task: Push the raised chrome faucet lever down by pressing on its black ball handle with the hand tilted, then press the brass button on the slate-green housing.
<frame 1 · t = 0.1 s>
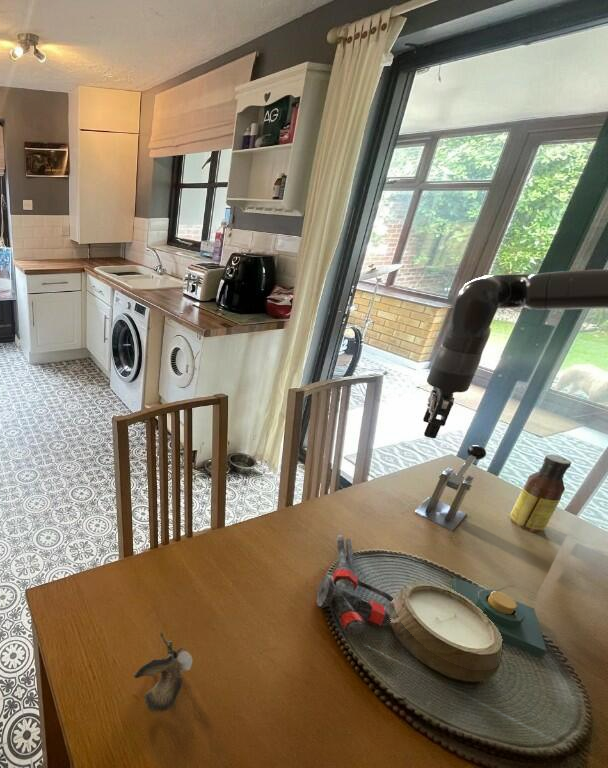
hand: (428, 429, 99), 23 cm above the table, tool pointing down, fingers open, 8 cm apart
sauce bottle: (522, 526, 101), on the table
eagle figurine: (161, 681, 68), on the table
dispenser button: (501, 602, 77), point 4 cm above the table, slide at 0.1 cm
grey metal stand: (438, 516, 104), on the table
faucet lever: (466, 466, 101), point 13 cm above the table, hinge at 25.0°
dispenser: (491, 618, 79), on the table
valve: (356, 590, 84), on the table
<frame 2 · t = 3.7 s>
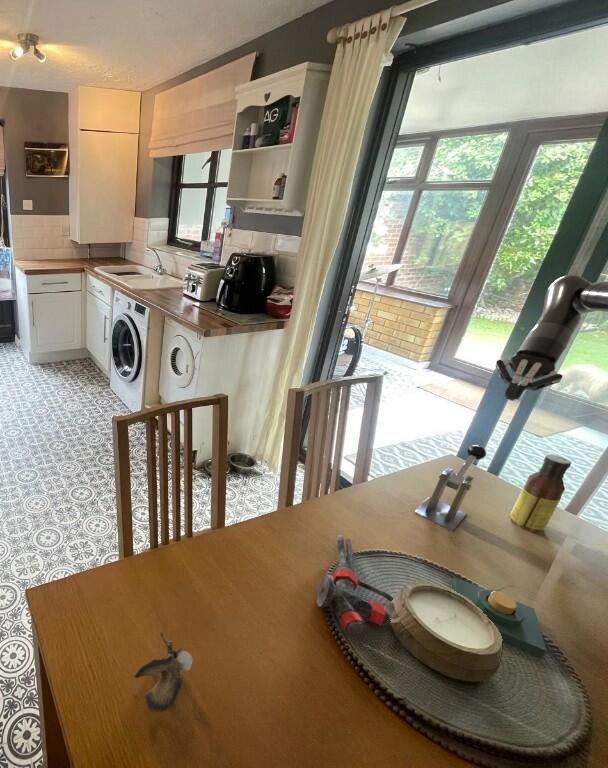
hand: (510, 398, 104), 27 cm above the table, tool tilted 45°, fingers closed
nothing on the table moved.
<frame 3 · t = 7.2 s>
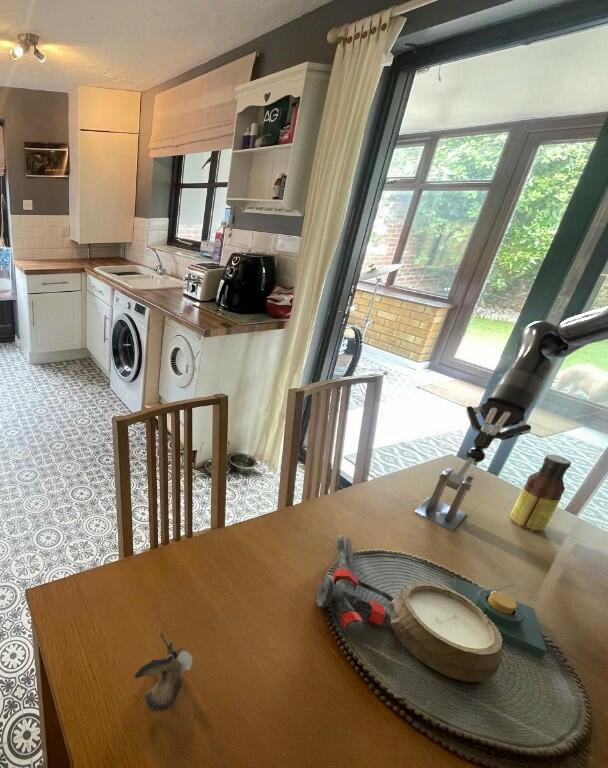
hand: (478, 447, 102), 17 cm above the table, tool tilted 45°, fingers closed
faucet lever: (465, 467, 101), point 13 cm above the table, hinge at 19.5°, touching gripper
everything else where it was.
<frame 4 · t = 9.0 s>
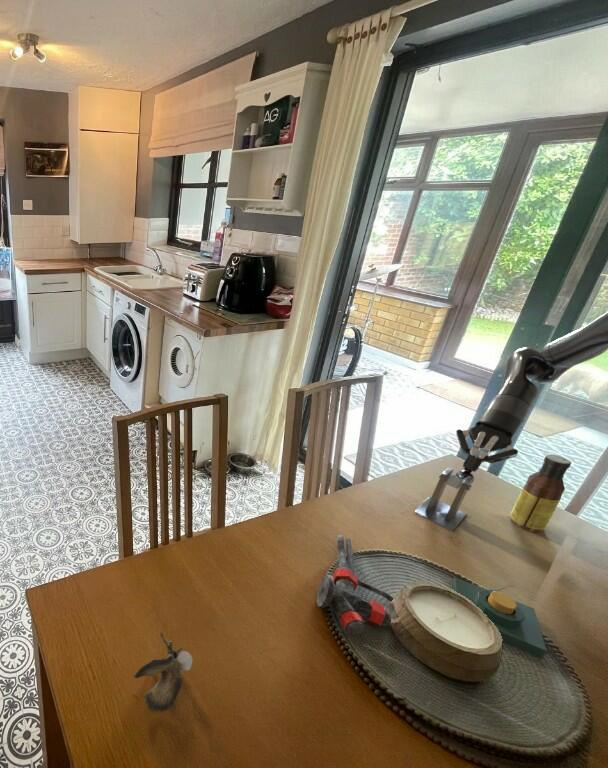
hand: (468, 470, 105), 10 cm above the table, tool tilted 45°, fingers closed
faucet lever: (460, 479, 103), point 9 cm above the table, hinge at -17.9°, touching gripper
everything else where it was.
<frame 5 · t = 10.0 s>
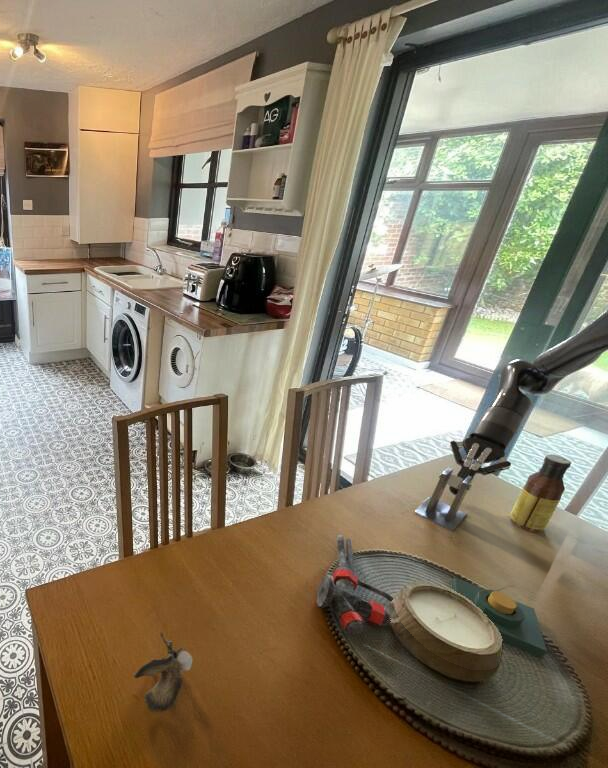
hand: (461, 481, 106), 7 cm above the table, tool tilted 45°, fingers closed
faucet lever: (456, 485, 103), point 8 cm above the table, hinge at -35.3°, touching gripper
everything else where it was.
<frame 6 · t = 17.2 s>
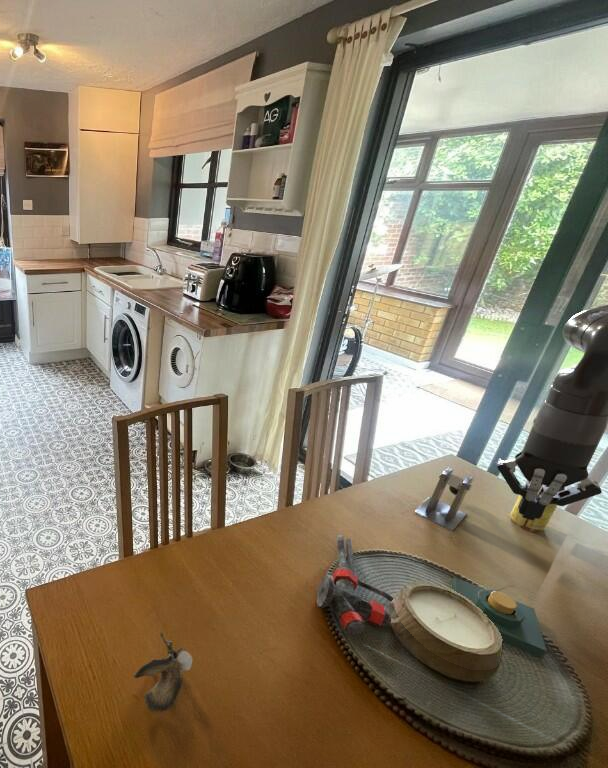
hand: (527, 516, 73), 22 cm above the table, tool pointing down, fingers closed
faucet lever: (456, 485, 103), point 8 cm above the table, hinge at -35.3°
everything else where it was.
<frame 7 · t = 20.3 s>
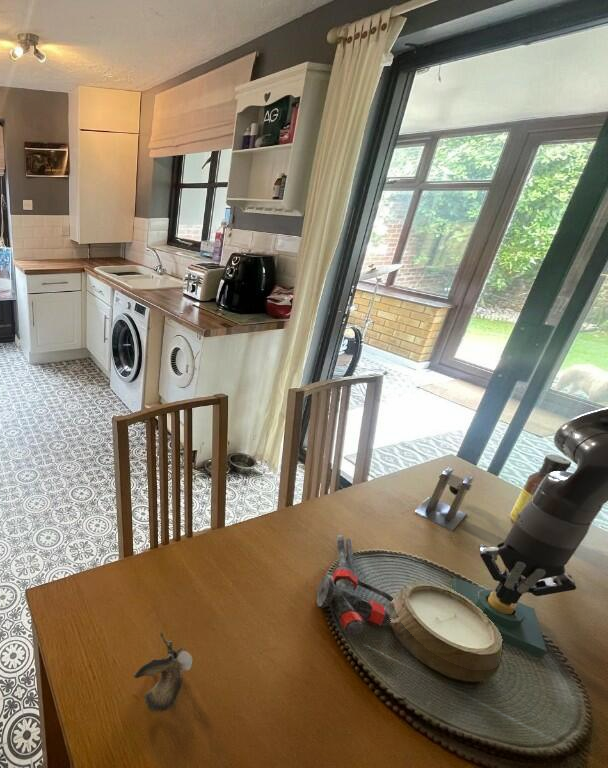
hand: (503, 599, 76), 5 cm above the table, tool pointing down, fingers closed
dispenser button: (501, 602, 77), point 4 cm above the table, slide at 0.1 cm, touching gripper
everything else where it was.
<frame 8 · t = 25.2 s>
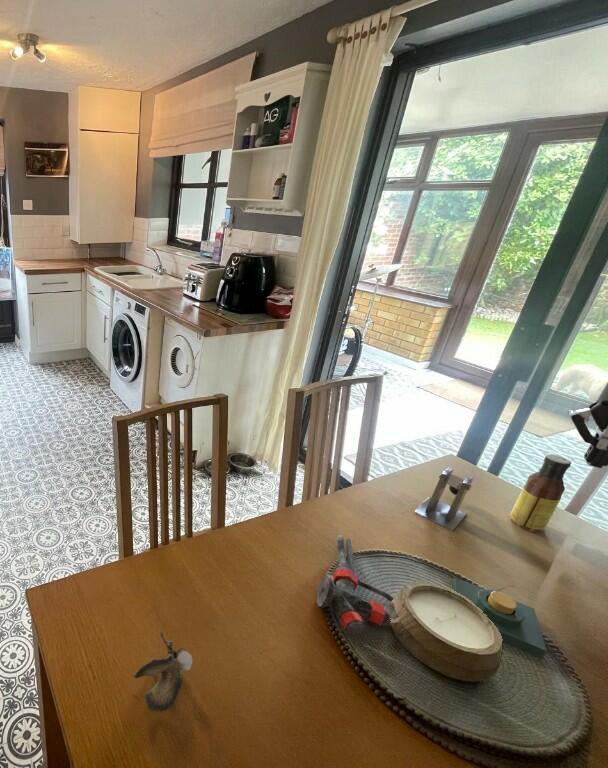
hand: (593, 464, 76), 29 cm above the table, tool pointing down, fingers closed
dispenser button: (501, 602, 77), point 4 cm above the table, slide at 0.1 cm
everything else where it was.
at the end: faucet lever at -35° (first picture: +25°); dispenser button pushed in 1.1 cm at the most during the clip, back to where it started at the end; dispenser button slide at 0.1 cm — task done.
